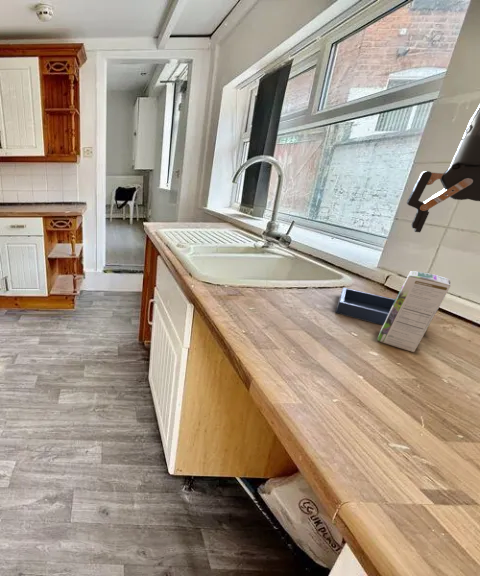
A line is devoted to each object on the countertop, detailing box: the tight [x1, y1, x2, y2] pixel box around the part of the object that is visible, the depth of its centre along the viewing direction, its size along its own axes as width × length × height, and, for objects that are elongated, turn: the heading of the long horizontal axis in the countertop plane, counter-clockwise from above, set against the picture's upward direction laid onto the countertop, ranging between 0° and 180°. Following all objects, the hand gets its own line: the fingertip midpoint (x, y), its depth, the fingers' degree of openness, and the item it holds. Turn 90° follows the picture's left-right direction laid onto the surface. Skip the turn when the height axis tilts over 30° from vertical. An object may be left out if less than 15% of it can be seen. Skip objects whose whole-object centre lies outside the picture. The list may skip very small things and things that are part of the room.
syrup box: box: [376, 270, 451, 353], centre depth 60 cm, size 6×6×14 cm
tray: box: [335, 287, 429, 334], centre depth 75 cm, size 16×14×3 cm
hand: (449, 235), depth 54 cm, fingers open, 8 cm apart
